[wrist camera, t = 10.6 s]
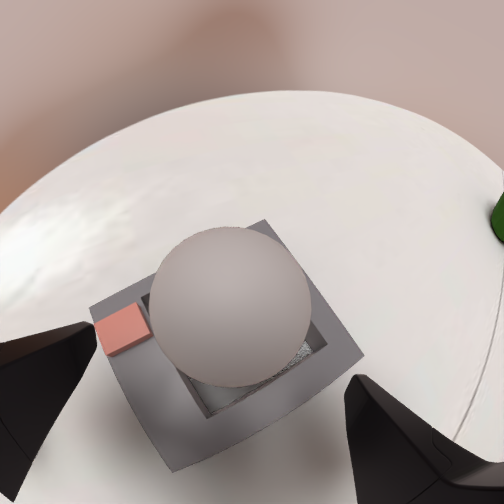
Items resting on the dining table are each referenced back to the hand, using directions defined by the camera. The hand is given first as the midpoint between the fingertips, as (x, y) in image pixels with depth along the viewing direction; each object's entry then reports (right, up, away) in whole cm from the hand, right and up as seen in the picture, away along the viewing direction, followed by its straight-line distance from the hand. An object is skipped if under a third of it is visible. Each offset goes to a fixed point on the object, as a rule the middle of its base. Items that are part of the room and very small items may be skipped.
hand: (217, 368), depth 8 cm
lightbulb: (0, -2, +9) cm, 10 cm away
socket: (-1, -3, +9) cm, 9 cm away
